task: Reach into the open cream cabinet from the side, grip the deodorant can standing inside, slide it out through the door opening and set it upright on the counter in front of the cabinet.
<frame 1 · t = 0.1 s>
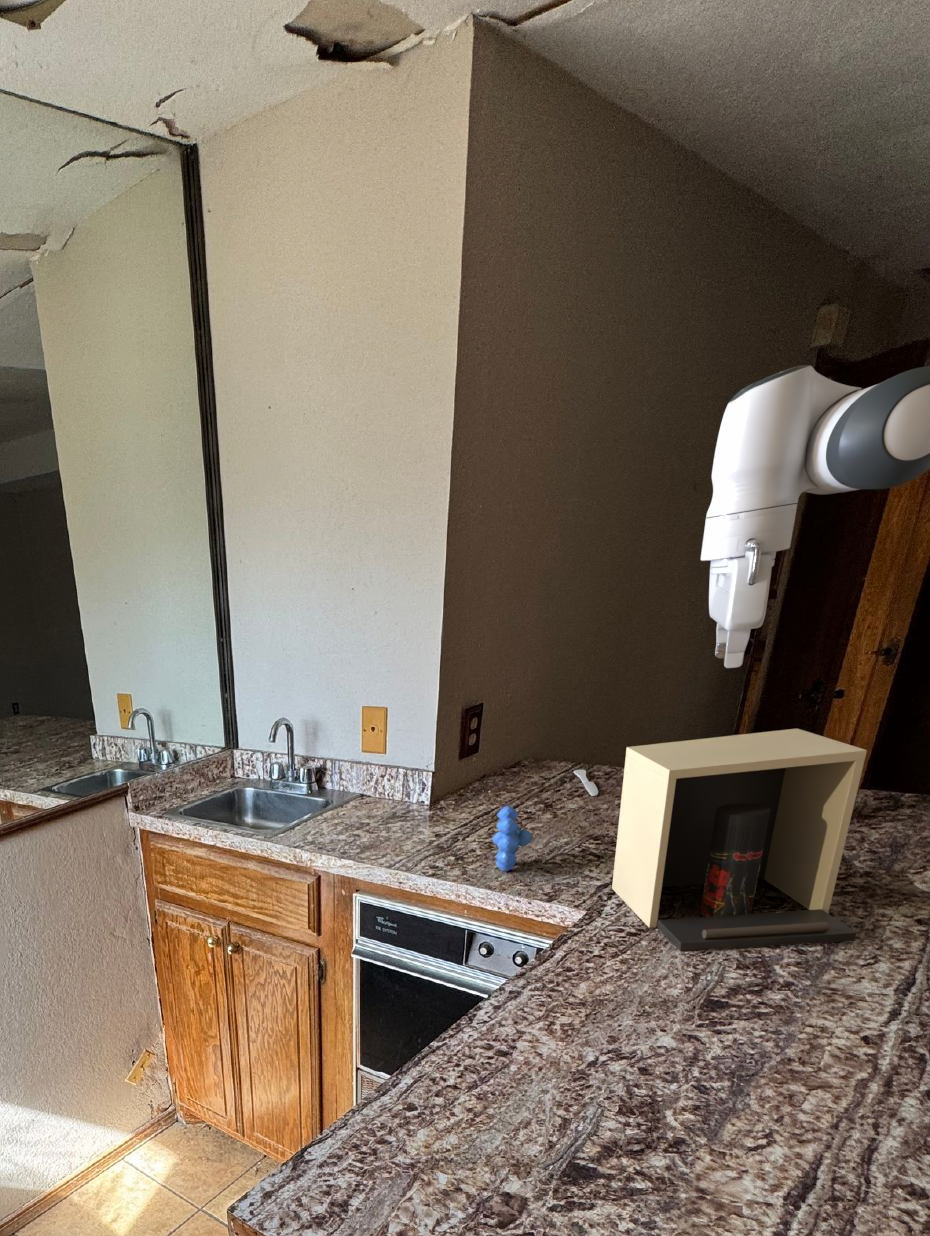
hand: (727, 662, 99), 34 cm above the countertop, tool pointing down, fingers open, 8 cm apart
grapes: (510, 871, 137), on the countertop
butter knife: (586, 784, 178), on the countertop
deodorant: (724, 914, 111), resting in cream cabinet
cream cabinet: (711, 901, 114), on the countertop
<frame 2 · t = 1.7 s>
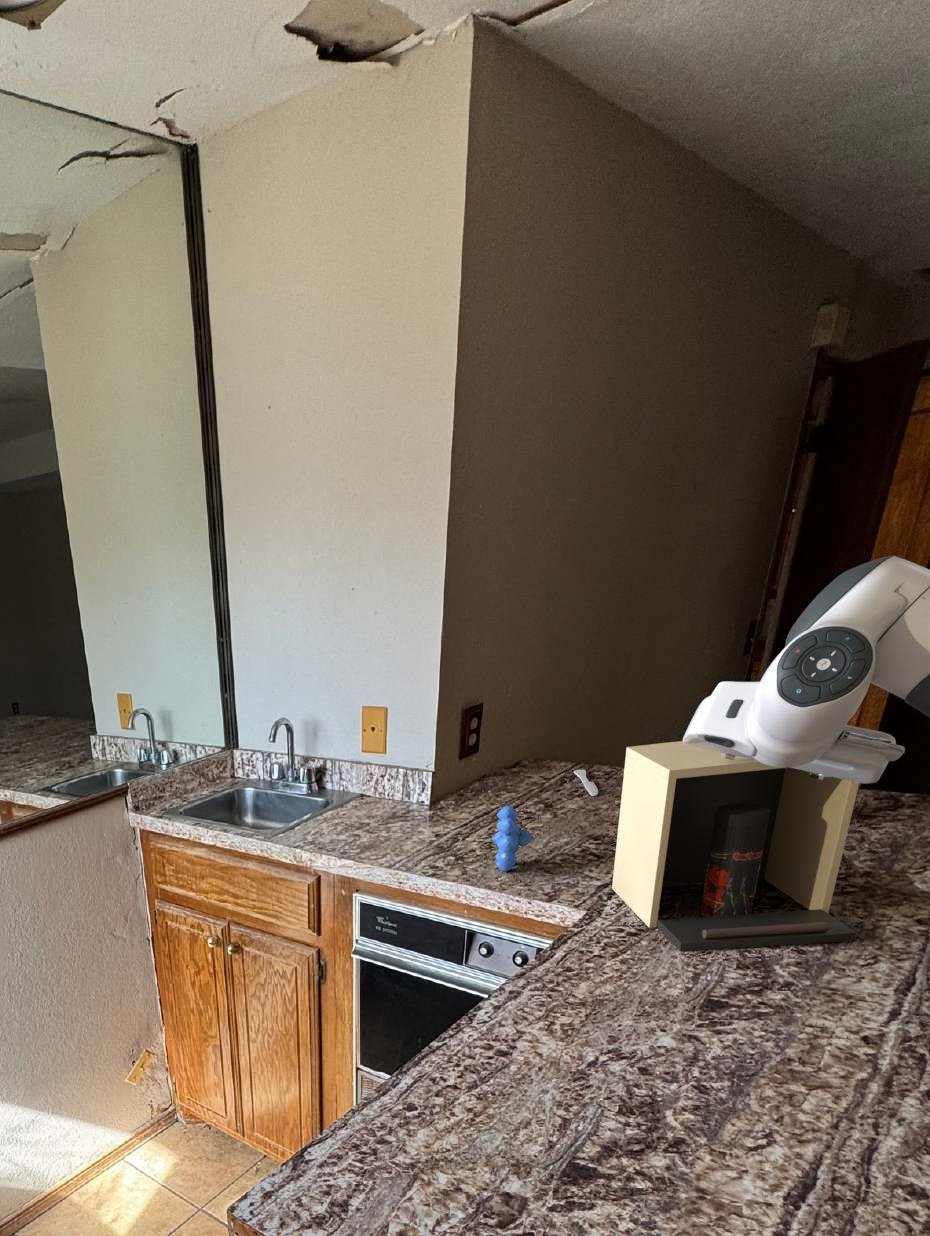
hand: (773, 762, 97), 22 cm above the countertop, tool tilted 60°, fingers open, 8 cm apart
nothing on the countertop moved.
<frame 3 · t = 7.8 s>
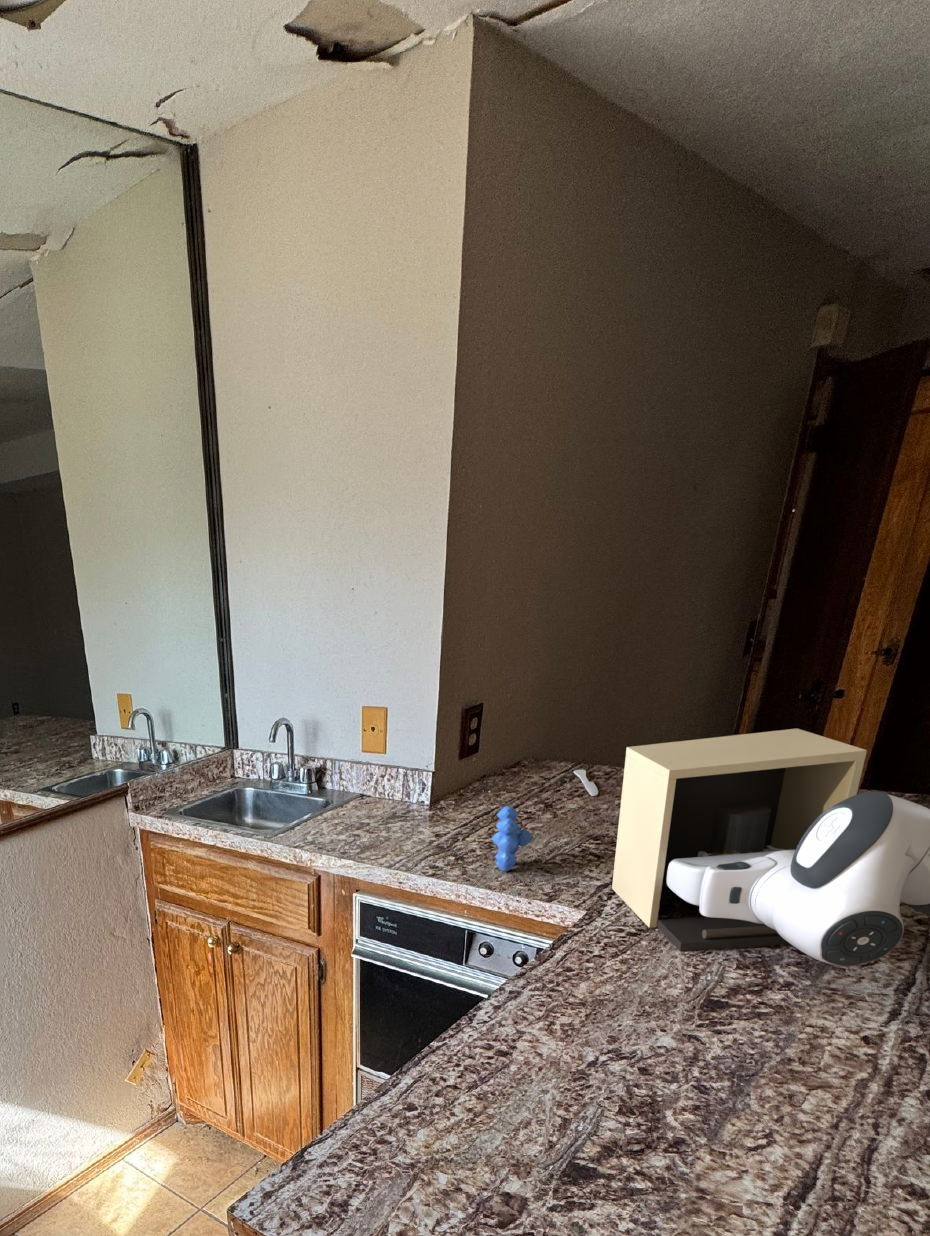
hand: (731, 853, 108), 9 cm above the countertop, tool horizontal, fingers closed on deodorant, 6 cm apart
deodorant: (724, 914, 111), resting in cream cabinet, touching gripper
everything else where it was.
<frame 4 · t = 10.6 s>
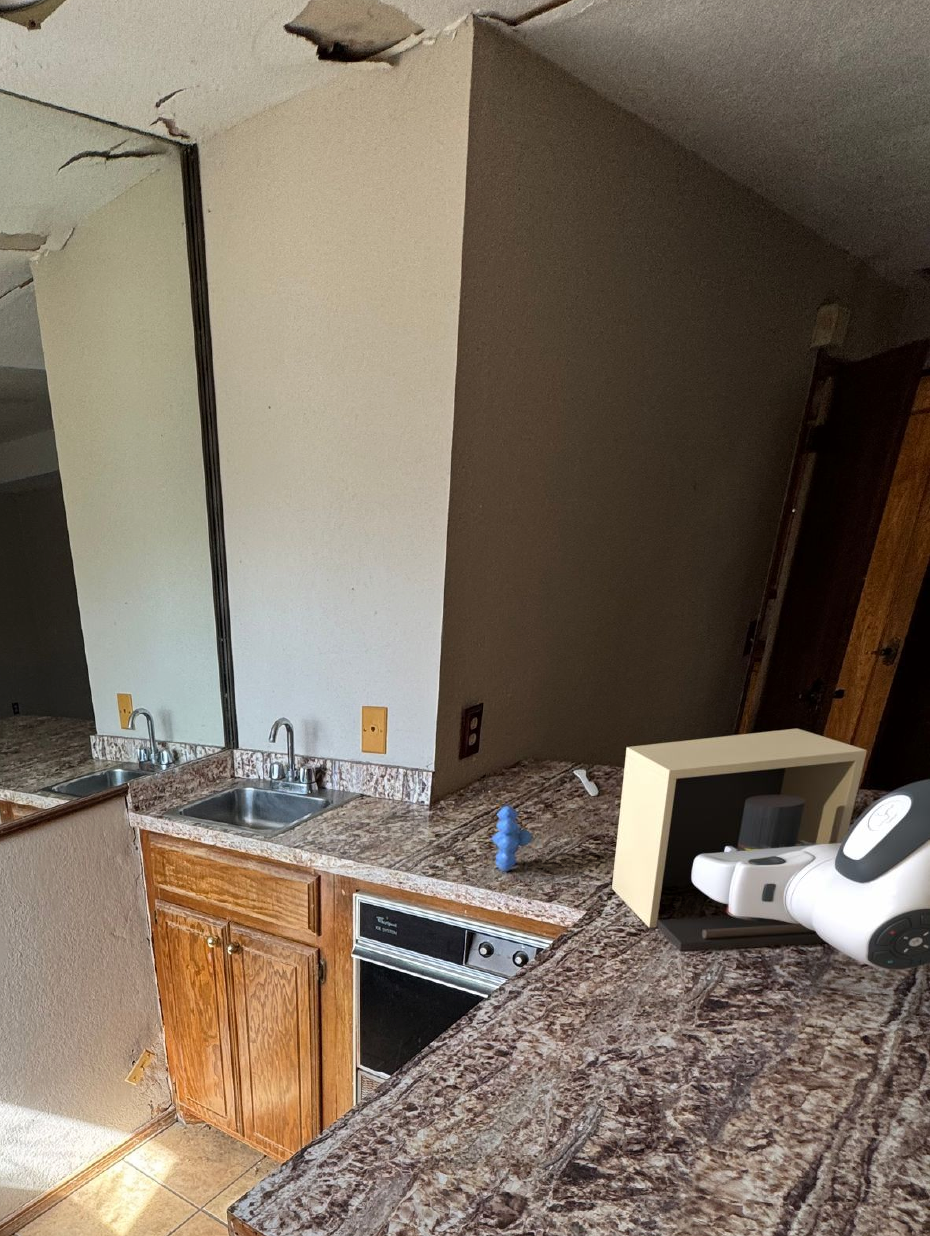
hand: (761, 848, 100), 11 cm above the countertop, tool horizontal, fingers closed on deodorant, 6 cm apart
deodorant: (753, 914, 103), point 3 cm above the countertop, touching gripper
everything else where it was.
when the fingers open (9 cm above the countertop, at t = 13.7 s): deodorant stays where it is, on the countertop.
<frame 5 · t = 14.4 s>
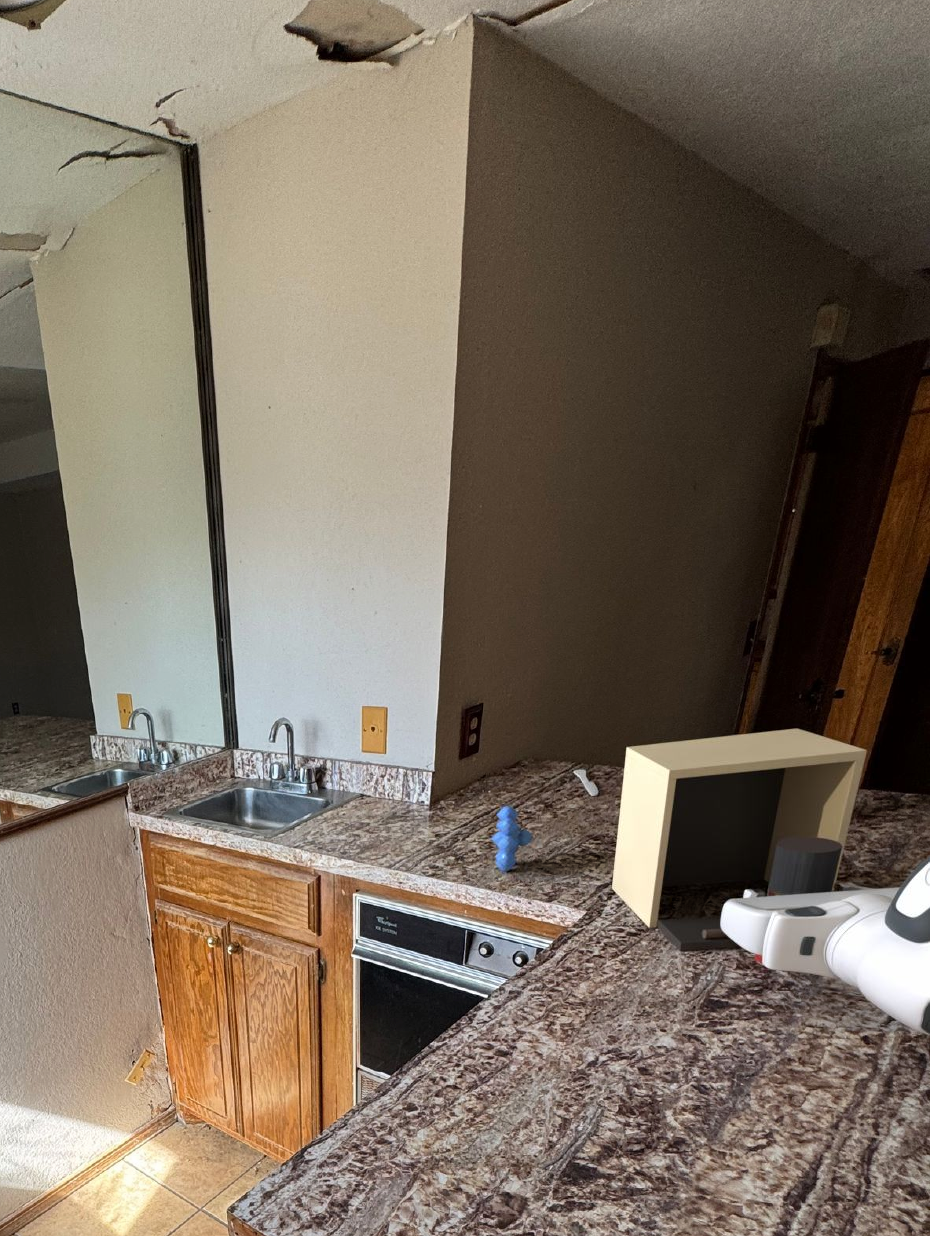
hand: (794, 891, 93), 9 cm above the countertop, tool horizontal, fingers open, 8 cm apart
deodorant: (783, 962, 97), on the countertop
everything else where it was.
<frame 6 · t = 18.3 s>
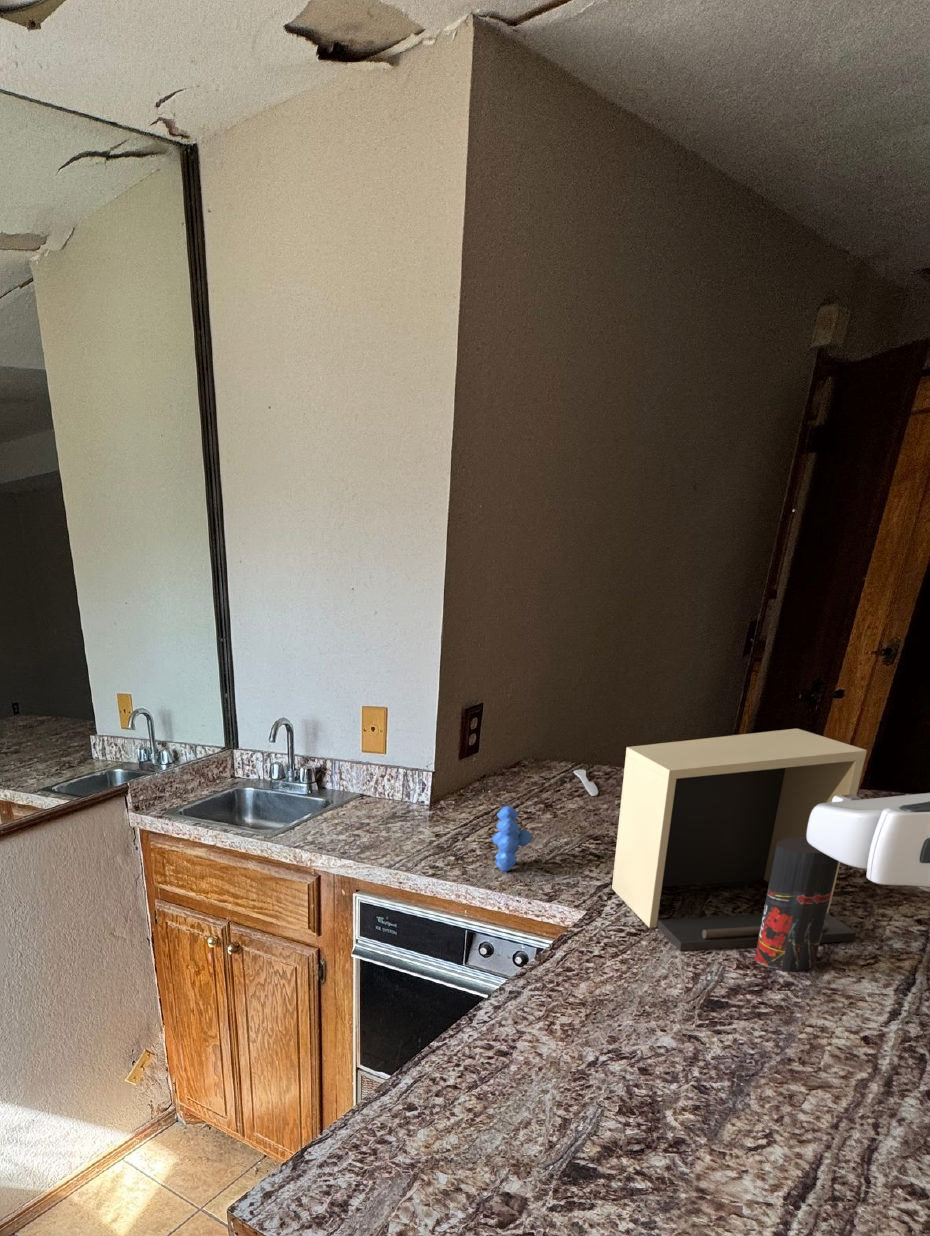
hand: (895, 797, 76), 24 cm above the countertop, tool horizontal, fingers open, 8 cm apart
nothing on the countertop moved.
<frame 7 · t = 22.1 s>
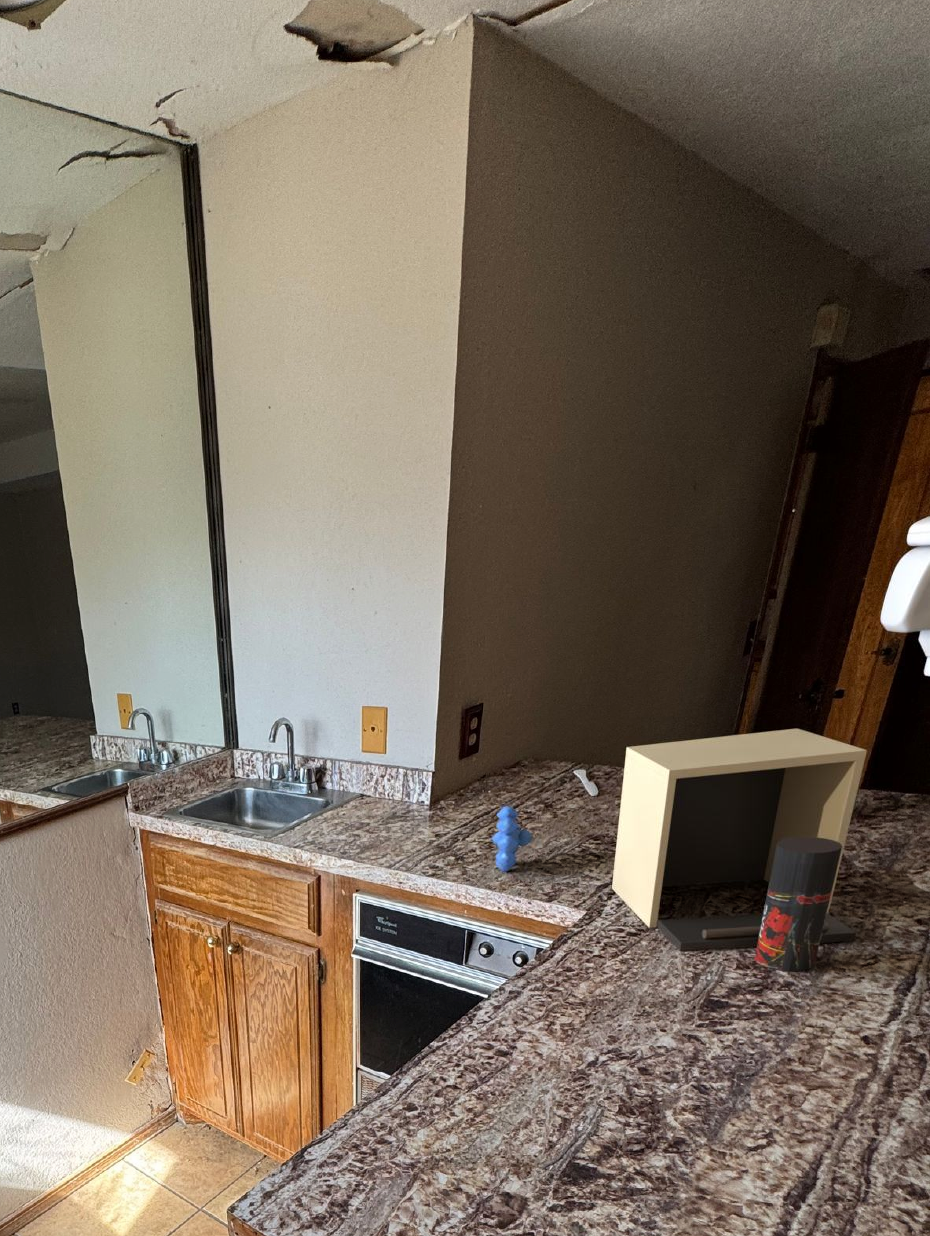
nothing on the countertop moved.
at the end: deodorant inside the target area (1.0 cm from its centre), on the countertop; deodorant tilted 0°; the gripper is holding nothing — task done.
